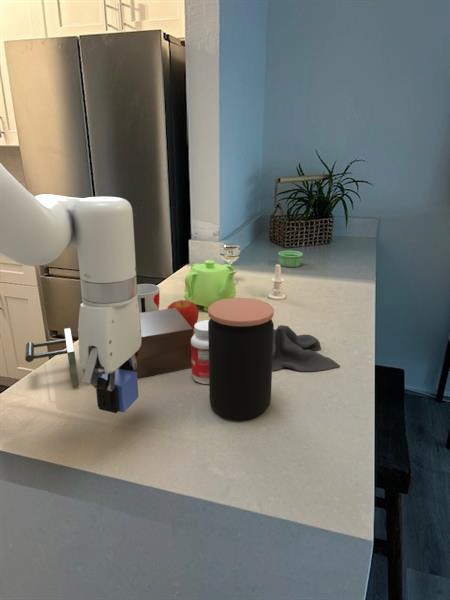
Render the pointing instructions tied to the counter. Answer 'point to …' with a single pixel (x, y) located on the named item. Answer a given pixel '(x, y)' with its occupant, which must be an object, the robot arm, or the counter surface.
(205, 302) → the teapot
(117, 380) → the matte blue cube
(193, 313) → the apple
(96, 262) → the robot arm
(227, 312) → the coffee jar
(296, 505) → the counter surface
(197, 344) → the pill bottle
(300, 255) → the ramekin
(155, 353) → the cabinet
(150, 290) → the cup
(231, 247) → the wineglass
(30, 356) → the brown drawer with handle
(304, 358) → the cloth
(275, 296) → the cream tower figurine
